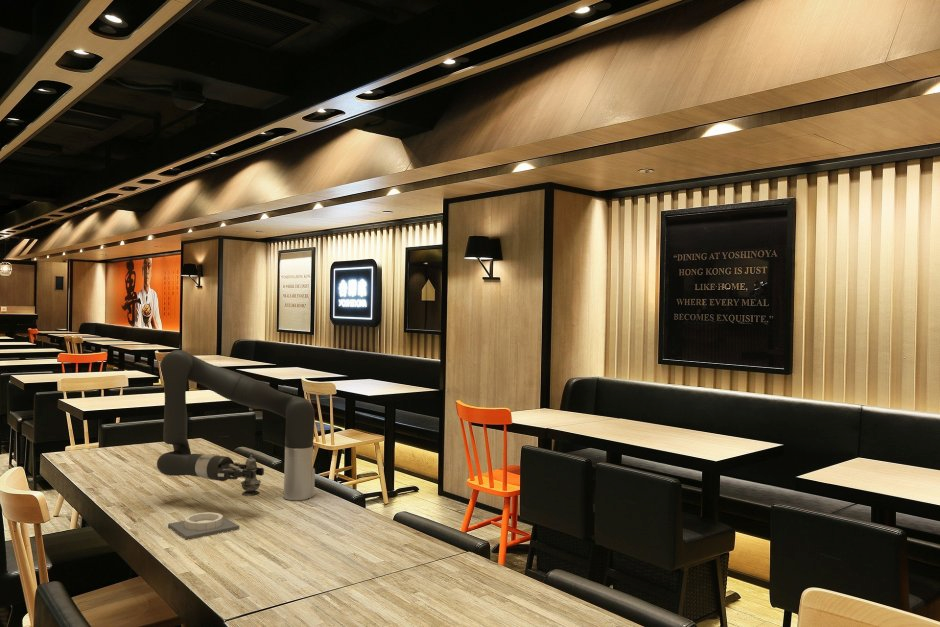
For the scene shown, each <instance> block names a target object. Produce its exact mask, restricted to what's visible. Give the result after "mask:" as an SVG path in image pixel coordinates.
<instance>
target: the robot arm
mask: <svg viewBox="0 0 940 627" xmlns="http://www.w3.org/2000/svg"><path fill="white" fill-rule="evenodd" d="M160 369H161V374H162V382H163V389H164V390H163V391H164V409H163V410H164V414H163V435H162V436H163V438H162V439H163V443H165V444H166V445H169V446H170V445H172V448H173V450H172V451H168V452H164V453H162V454H161V455H160V456H159V457H158V459H157V460H156V468H157V470H158V472H160V474H162V475H166V476H172V477H173V476H189V477H197V478H202V479H206V480H210V481H211V480H213V481H219V482H226V481H228V480H238V479H243V478H244V479H245V478H250V479H253V478H255V472H254V471H250V470H245V469H246V461H245V463H241V462H238V461H237V462H234V460H233V459H232V458H231V457H229V456H227V455H226V456H225V455H216V454H202V453H192V451H191V447H190V444H189V440H188V412H187V399H186V398H187V397H186V396H187V394H186V391H187V384H188V383H187V382H188V381H191V382H192V383H193V382H194V383H197V384H199V385H202V386H203V387H206V388H207V389H209V390H210V391H212V392H213V393H215V394H217V395H219V396H220V397H223V398H224V399H225V400H226V399H227V400H230V401H231V402H233V403H234V402H235V403H237V404H239V405H242V406H246V407H250V408H253V409H258V410H259V409H260V410H265V411H269V412H272V413H274V414H275V415H279V416H281V417H283V418H285V435H284V437H285V438H284V439H285V440H284V469H283V470H284V473H283V474H284V477H283V479H284V480H283V499H285V500H288V501H304V500H308V498H309V499H311V498H312V497H313V498H314V497H315V486H316V484H315V482H316V481H315V480H316V479H315V478H316V475H315V474H316V469H315V467H314V466H313V464H314V461H313V460H314V459H313V458H314V439H315V417H316V416H315V409H314V406H313V404H312V403H311V401H310V400H309V399H307V398H304V397H301V396H297V395H292V394H290V393H286V392H283V391H279V390H277V389H275V388H273V387H271V386H269V385H268V384H266V383H263V382H261V381H259V380H256V379H254V378H252V377H250V376H248V375H245V374H242V373H241V372H237V371H235V370H232V369H227V368H225V367H221V366H217V365H214V364H212V363H209V362H207V361H205V360H203V359H201V358H199V357H197V356H194V355H193V354H192V353H190V352H188V351H185V350H184V349H182V350H181V349H176V350H171V351H169V352H168V353H167V354H165V355H164V356H163V357H162V360H161V362H160ZM256 469H257V470H256V476H264V473H265V469H264V468H263V467H259V466H258V464H257V463H256Z"/></svg>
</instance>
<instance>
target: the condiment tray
mask: <svg viewBox="0 0 940 627" xmlns="http://www.w3.org/2000/svg"><path fill="white" fill-rule="evenodd" d="M167 527H168V528H169V529H170V528H171V529H172V532H174V531H175V532H174V533H176V535H178V534H179V536H180V537H181V536H182V537H181V538H183V539H184V538H185V539H184V540H186V541H187V540H188V539H189V540H194V539H198V538H203V536H204V537H208V536H212V535H217V534H218V533H219V534H223V533H227V531H228V532H232V531H231V530H233V531H237V529H238V530H240V525H239V524H237V523H235V522H234V521H232V520H230V519H229V518H227V517H225V516H224V515H222V514H221V513H217V512H200V513H199V512H198V513H193V514H191V515H188V516H186V517H185V519H184V520H181V521H175V522H171V523H170V522H169V523H168V524H167ZM171 529H170V530H171ZM222 532H223V533H222ZM193 538H194V539H193ZM189 540H188V541H189Z"/></svg>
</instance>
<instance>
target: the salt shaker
mask: <svg viewBox="0 0 940 627" xmlns="http://www.w3.org/2000/svg"><path fill="white" fill-rule="evenodd" d="M245 462H246V469H245V470H250V471H254V472H255V478H253V479H250V478H244V480H242V481H241V482H240V484H241V487H242V489H243V490H244V491H243V492H242V493H241V496H244V497H255V496H258V495H260V494H261V492H260V491H259V490H258V489H259V488H260V484H261V483H262V481H261V480H259V479H258V478H257V475H256V470H257V469H256V464H257V459H256V457H253V455H252V454H250V455H249V457H248V458H246V461H245Z"/></svg>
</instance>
